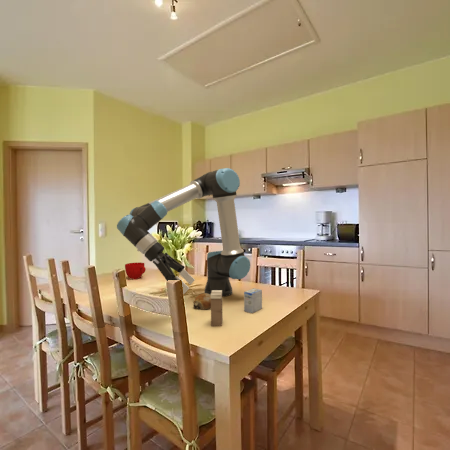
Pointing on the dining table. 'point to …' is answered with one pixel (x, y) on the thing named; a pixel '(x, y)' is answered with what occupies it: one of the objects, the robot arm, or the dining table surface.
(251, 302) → the medicine box
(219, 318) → the walnut block
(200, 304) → the bread roll
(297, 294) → the dining table surface
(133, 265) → the ceramic cup
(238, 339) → the dining table surface
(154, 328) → the dining table surface
